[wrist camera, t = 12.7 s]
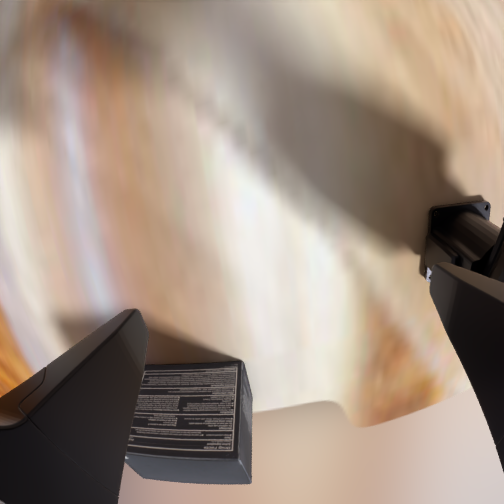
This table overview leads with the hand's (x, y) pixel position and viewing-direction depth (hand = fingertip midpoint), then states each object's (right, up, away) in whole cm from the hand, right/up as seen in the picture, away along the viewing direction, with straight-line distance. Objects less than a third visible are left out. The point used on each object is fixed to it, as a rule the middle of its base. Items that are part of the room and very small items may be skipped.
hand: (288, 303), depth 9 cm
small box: (-6, -12, +20) cm, 25 cm away
